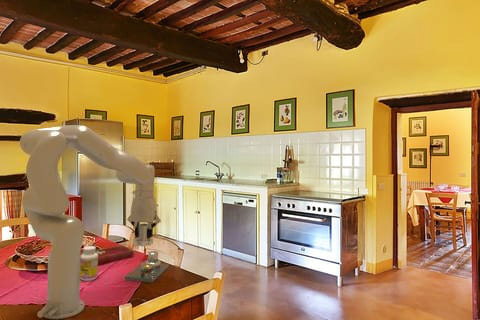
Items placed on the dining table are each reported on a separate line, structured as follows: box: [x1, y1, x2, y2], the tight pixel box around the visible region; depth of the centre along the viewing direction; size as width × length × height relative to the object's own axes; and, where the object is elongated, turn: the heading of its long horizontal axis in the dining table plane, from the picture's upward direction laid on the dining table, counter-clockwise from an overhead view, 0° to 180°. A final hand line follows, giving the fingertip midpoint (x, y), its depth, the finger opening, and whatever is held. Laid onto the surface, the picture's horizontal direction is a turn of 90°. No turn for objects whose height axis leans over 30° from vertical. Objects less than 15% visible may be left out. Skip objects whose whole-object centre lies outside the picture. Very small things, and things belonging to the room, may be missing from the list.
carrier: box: [124, 250, 170, 284], centre depth 147 cm, size 19×12×8 cm, turn 172°
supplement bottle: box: [80, 245, 99, 282], centre depth 139 cm, size 7×7×13 cm
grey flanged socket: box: [133, 223, 154, 247], centre depth 141 cm, size 8×8×8 cm
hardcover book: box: [81, 244, 135, 266], centre depth 165 cm, size 12×21×4 cm, turn 138°
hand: (143, 237), depth 141 cm, fingers closed on grey flanged socket, 4 cm apart
